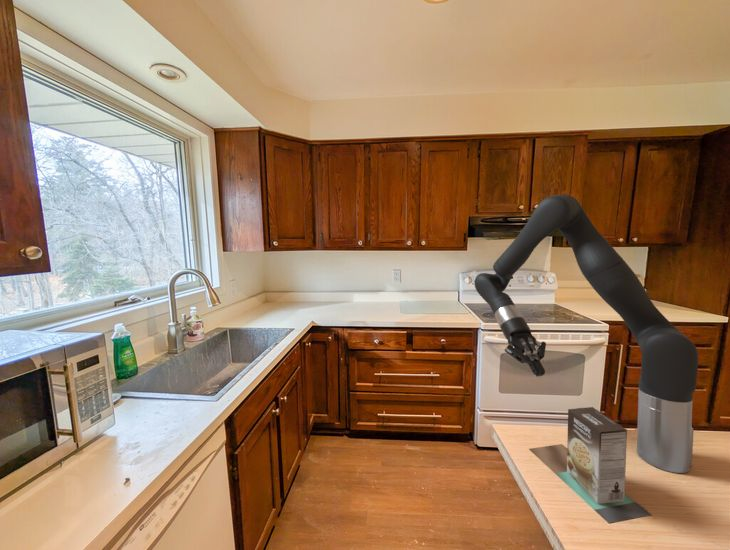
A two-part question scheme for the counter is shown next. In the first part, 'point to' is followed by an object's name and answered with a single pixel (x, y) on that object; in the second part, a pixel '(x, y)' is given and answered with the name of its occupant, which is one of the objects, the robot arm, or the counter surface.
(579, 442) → the coffee box
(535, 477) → the counter surface
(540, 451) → the mat
